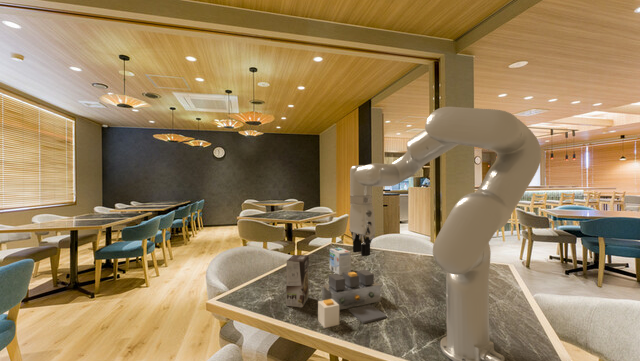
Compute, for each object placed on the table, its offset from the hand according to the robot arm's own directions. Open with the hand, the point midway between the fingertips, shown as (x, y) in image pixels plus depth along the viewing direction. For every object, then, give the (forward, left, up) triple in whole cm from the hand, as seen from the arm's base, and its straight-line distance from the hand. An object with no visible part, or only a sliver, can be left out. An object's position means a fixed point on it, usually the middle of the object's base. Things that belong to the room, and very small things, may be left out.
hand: (361, 253), depth 92 cm
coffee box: (+15, +18, -20) cm, 31 cm away
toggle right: (+7, -6, -13) cm, 16 cm away
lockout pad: (-3, 0, -19) cm, 20 cm away
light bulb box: (+39, -12, -20) cm, 45 cm away
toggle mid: (+8, 0, -13) cm, 15 cm away
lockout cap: (-3, +14, -19) cm, 24 cm away
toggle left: (+7, +6, -13) cm, 16 cm away
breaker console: (+7, 0, -19) cm, 21 cm away
